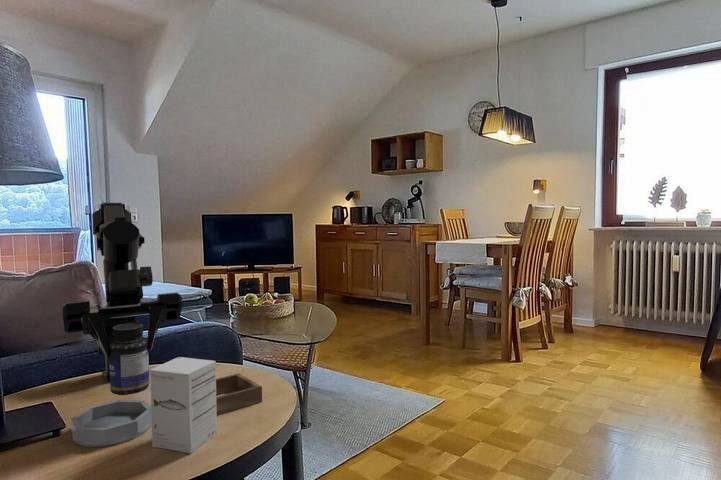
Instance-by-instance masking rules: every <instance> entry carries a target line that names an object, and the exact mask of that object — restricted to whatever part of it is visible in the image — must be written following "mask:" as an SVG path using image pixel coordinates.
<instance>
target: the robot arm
mask: <svg viewBox="0 0 721 480" xmlns="http://www.w3.org/2000/svg"><path fill="white" fill-rule="evenodd" d="M91 217H92V219H91V220H92V222H91V223H92V235H93V236H96V237H95V238H96V239H95V240H96V241H95V243H96V251H97V252H98V251H100V255H101V257H104V258H103V263H102V265H103V276H104V291H105V301H106V303H105V304H106V305H105V306H100V305H97V304H94V305H92V304H91V305H90V300H89V299H87V300H80V301H79V300H78V301H67V302H66V303H65V304H64V305H62V320H63V329H64V331H63V332H65V333H66V334H67V333H68V334H71V333H79V332H82V334H83V335H85V336H86V335H89V336H91V338H92V339H93V340H94V341H95V342H96V343H97V344H98V345H97V347H98V354H104V356H105V360H104V361H105V370H104V371H102V372H101V375H102V377H103V378H104V379H105V380H106V382H110V369H109V344H110V343H111V342H112V341H113V340H114V339H115V338H114V336H113V330H112V329H113V327H114V326H117V325H120V324H126V323H140V320H139V321H137V316H145V315H146V316H147V315H148V322H147V341H148V352H152V350H153V345H154V341H155V338H156V334H157V332H158V330H159V328H160V327H161V326H164V325H166V322H172V321H174V322H175V321H177V320H179V319H181V314H182V308H183V298H182V295H181V294H180V293H178V291H177V292H167V293H158V294H157V299H156V301H154V302H144V303H143V300H142V299H144V290H143V287H151V286H152V285H153V282H154V281H153V278H154V277H153V270H152V266H149V265H148V266H140V267H139V269H138V262H137V258H138V256H139V250H140V249H141V248H142V246H143V244H145V242H146V241H145V237H144V236H142V234H141V233H140V228H138V226H136V224H134V223H133V220H132V219H133V218H132V213H131V212H130V211H129V210H127V209H126V205H125V203H122V202H103V203H100V208H99V209H97V210H96V211H94V212H93V213H92V215H91ZM142 337H144V332H143V333H142Z"/></svg>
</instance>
